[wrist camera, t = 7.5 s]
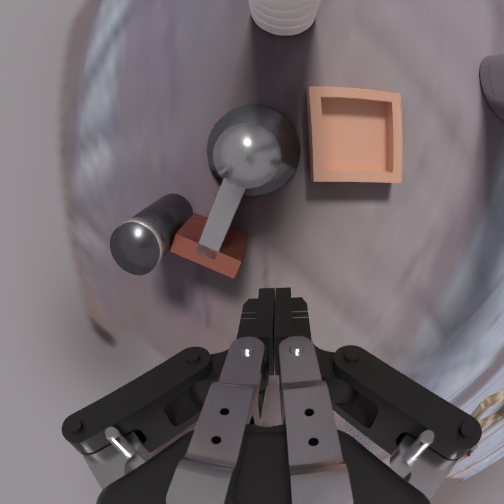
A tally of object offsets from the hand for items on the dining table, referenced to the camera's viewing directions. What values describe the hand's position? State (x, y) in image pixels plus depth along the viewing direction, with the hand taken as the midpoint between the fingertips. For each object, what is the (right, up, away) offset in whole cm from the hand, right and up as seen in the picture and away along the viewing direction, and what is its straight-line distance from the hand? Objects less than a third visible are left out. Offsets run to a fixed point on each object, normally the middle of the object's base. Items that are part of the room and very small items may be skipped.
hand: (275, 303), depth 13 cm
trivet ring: (+70, -44, +32) cm, 89 cm away
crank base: (-1, +13, +13) cm, 18 cm away
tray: (+9, +14, +11) cm, 20 cm away
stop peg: (-10, +7, +16) cm, 20 cm away
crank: (-3, +9, +13) cm, 16 cm away
